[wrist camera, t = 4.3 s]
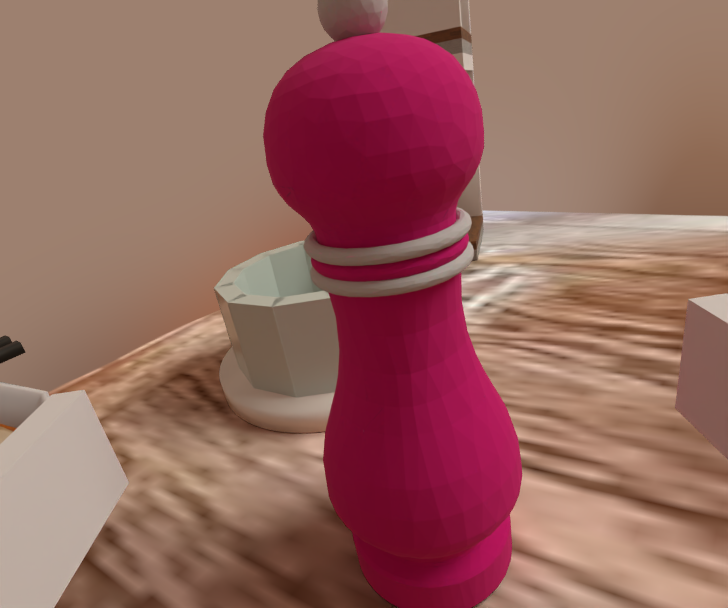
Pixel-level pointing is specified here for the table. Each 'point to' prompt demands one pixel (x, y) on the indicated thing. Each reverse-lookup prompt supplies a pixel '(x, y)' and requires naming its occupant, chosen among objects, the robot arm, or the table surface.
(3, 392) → the ramen bowl
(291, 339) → the well
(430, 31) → the spiral stair tower
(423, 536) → the pepper mill
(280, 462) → the table surface
